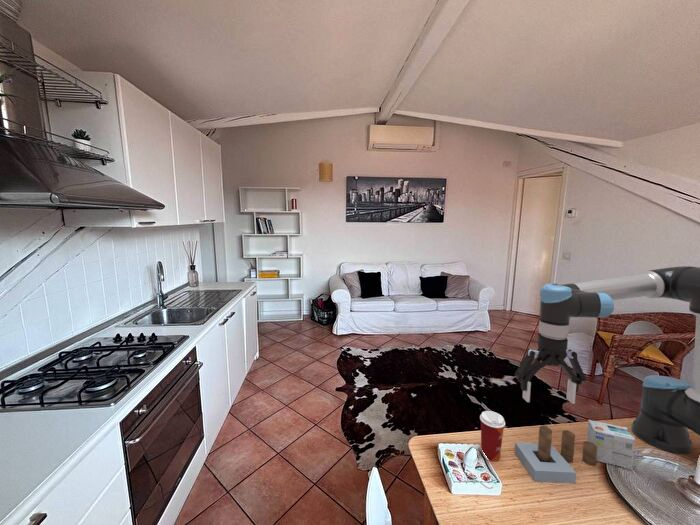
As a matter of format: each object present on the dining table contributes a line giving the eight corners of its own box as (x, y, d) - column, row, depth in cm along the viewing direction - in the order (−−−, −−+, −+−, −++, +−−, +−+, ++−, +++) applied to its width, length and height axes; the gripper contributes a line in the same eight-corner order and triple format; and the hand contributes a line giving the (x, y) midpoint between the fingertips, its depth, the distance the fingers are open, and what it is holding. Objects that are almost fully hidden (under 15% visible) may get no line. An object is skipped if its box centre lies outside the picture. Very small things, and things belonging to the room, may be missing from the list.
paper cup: (506, 465, 95) (508, 425, 93) (481, 462, 96) (483, 422, 95) (499, 448, 102) (501, 410, 101) (475, 445, 104) (477, 408, 102)
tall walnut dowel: (545, 462, 96) (548, 425, 95) (551, 471, 92) (554, 432, 91) (534, 462, 96) (537, 425, 95) (540, 470, 93) (543, 432, 91)
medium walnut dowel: (568, 454, 99) (570, 430, 98) (575, 462, 96) (577, 437, 95) (558, 454, 99) (560, 429, 99) (564, 462, 96) (566, 436, 95)
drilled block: (550, 453, 100) (551, 444, 100) (575, 483, 88) (576, 472, 88) (514, 451, 101) (515, 442, 100) (534, 481, 89) (535, 470, 88)
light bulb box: (624, 456, 99) (627, 426, 98) (633, 471, 93) (636, 439, 92) (585, 446, 103) (587, 418, 102) (591, 460, 97) (594, 430, 96)
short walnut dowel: (590, 458, 98) (592, 441, 97) (598, 466, 95) (600, 449, 94) (580, 457, 98) (581, 441, 98) (587, 465, 95) (589, 448, 94)
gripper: (585, 332, 93) (580, 395, 95) (505, 330, 94) (502, 392, 96) (605, 340, 85) (598, 408, 88) (517, 339, 87) (513, 406, 89)
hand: (548, 400), depth 92 cm, fingers open, 13 cm apart
